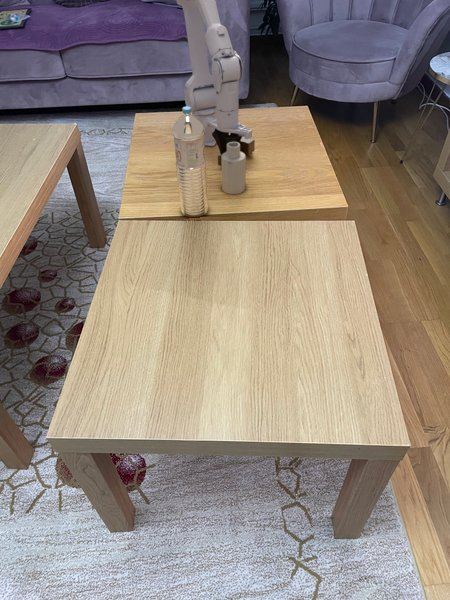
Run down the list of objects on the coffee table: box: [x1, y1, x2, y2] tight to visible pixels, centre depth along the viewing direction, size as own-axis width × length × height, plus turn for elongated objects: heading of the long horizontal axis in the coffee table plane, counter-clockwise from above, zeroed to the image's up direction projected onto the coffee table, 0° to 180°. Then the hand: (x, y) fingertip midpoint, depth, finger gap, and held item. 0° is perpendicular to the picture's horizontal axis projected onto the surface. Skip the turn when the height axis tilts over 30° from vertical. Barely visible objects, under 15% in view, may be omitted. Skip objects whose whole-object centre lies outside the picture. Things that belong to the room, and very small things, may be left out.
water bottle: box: [172, 105, 209, 218], centre depth 102 cm, size 7×7×25 cm
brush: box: [217, 137, 256, 167], centre depth 127 cm, size 6×12×4 cm, turn 143°
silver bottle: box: [221, 142, 247, 195], centre depth 114 cm, size 6×6×12 cm
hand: (228, 156), depth 126 cm, fingers closed on brush, 2 cm apart
